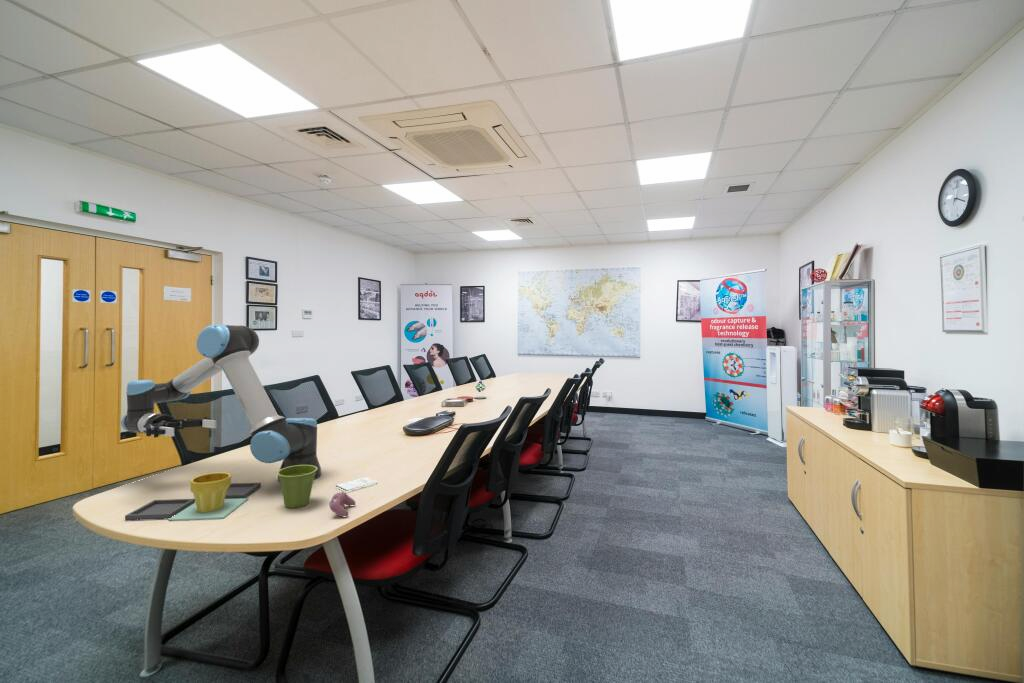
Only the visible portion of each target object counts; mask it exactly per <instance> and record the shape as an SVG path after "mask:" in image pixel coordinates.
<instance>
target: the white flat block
mask: <svg viewBox="0 0 1024 683" xmlns="http://www.w3.org/2000/svg"><path fill="white" fill-rule="evenodd" d="M370 479H371V480H370ZM375 482H378V480H375V479H372V478H370V477H367V476H365V477H360V478H358V479H353V480H350V481H349V480H348V481H347V482H346V481H345V482H341V483H338V484H335V486H336V487H339V488H341V489H343V490H345V491H349V490H353V489H355V488H359V487H362V486H365V485H368V484H371V483H375Z"/></svg>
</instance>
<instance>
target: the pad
mask: <svg viewBox="0 0 1024 683" xmlns="http://www.w3.org/2000/svg"><path fill="white" fill-rule="evenodd" d="M248 500H249V497H246V498H239V499H225V500H224V504H223V507H222V508H220V509H218V510H215V511H210V512H199V511H198V510H197V507H196V502H195V503H194V504H192V505H190V506H189V507H187V508H186V509H184V510H182V511H181V512H179V513H178V514H176V515H175V516H173V517H171V518H170V519H167V521H168V520H183V521H200V520H201V521H202V520H204V519H208V520H223V519H225V518H226V517H227V515H228V516H230V514H232V513H233V512H234V511H235V509H236V510H237V509H238V508H239V507H241V506H243V504H245V503H246V502H248ZM244 502H245V503H244Z"/></svg>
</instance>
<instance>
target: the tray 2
mask: <svg viewBox="0 0 1024 683" xmlns="http://www.w3.org/2000/svg"><path fill="white" fill-rule="evenodd" d="M260 486H262V483H261V482H237V483H233V482H231V485H230V486H229V487H228V489H227V493H226V497H225V499H239V498H248V497H249V496H251V493H252V494H253V493H254V492H256V491H257V490H259V489H260V488H261V487H260ZM259 487H260V488H259ZM255 490H256V491H255ZM247 496H248V497H247Z"/></svg>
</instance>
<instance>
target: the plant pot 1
mask: <svg viewBox="0 0 1024 683" xmlns="http://www.w3.org/2000/svg"><path fill="white" fill-rule="evenodd" d="M231 483H232V475H231V473H229V472H225V471H224V472H222V471H220V472H219V471H218V472H210V473H209V472H208V473H204V474H200V475H197V476H194V477H193V478H191V480H190V492H191V493H192V494H193V497H194V498H193V499H195V502H196V507H197V510H198V511H199V512H210V511H215V510H218V509H220V508H222V507H223V504H224V500H225V497H226V493H227V489H228V487H229V486H230V485H231Z"/></svg>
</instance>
